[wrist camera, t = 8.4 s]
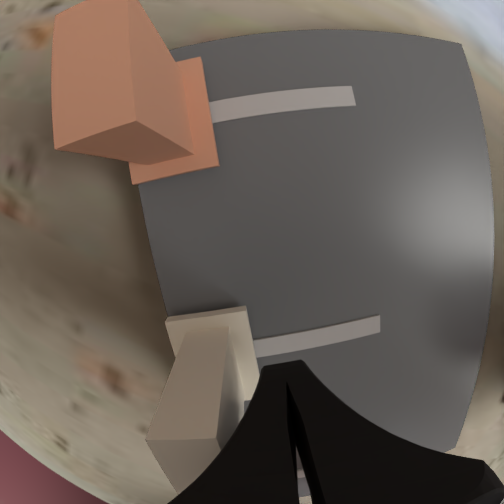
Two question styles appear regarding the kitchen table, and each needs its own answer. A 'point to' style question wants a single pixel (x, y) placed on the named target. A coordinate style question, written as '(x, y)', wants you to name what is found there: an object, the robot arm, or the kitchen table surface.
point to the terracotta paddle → (128, 93)
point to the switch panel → (341, 218)
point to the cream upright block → (203, 391)
